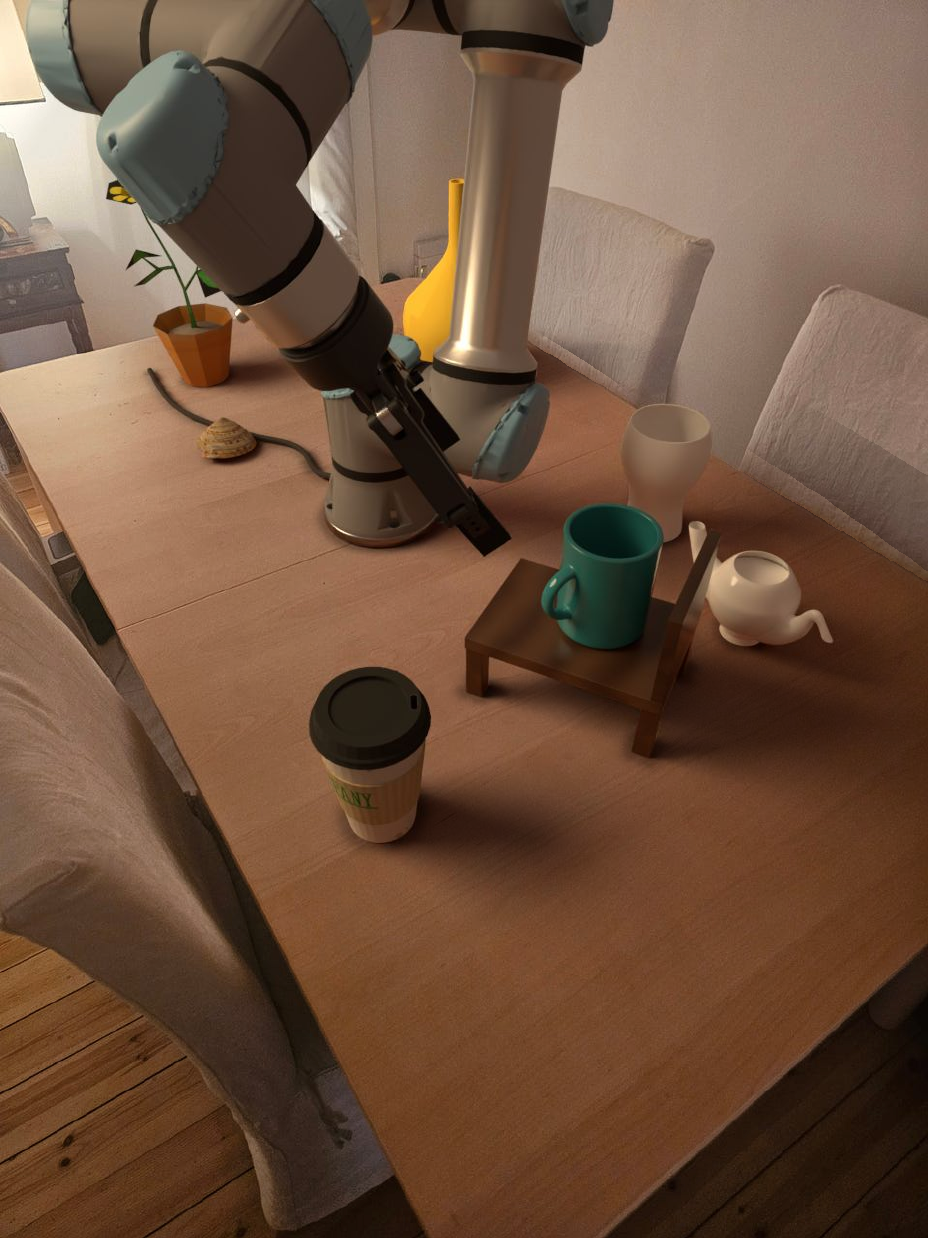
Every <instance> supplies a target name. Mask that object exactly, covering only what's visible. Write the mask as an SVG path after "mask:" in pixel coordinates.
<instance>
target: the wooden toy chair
mask: <svg viewBox="0 0 928 1238" xmlns="http://www.w3.org/2000/svg"><path fill="white" fill-rule="evenodd" d="M722 535H723V532H722V531H719V530H716V529H712V528H709V529H708V532H707V536H706V538H705V540H704V542H703V545H702V547H701V549H700V551H699V553H698V556H697V558H696V560H695V562H693V564H692V566H691V569H690V570H689V573H688V576H687V578H686V580H685V582H684V584H683V585H682V588H681V591H680V593H679V595H678V597H677V600H676V602H675V603H674V602H672V601H671V602H670V601H667V600H664V599H662V598H661V599H660V598H658V597H654V596H652V600H651V605H650V610H649V615H648V620H647V625H646V628H645V630H644V632H643V633H642V635H641V636H640V637H639V638H638V639H637V640H636V641H634V642H633V643H631V644H629V645H627V646H624V647H621V648H616V649H595V648H590V647H587V646H584V645H581V644H579V643H577V642H575V641H573V640H572V639H571V638H569V637H568V636H567V635H566V634H565V633H564V632H563V631H562V630H561V628H560V627H559V625H558V622H557V620H555V619H552V618H550V617H549V616H548V615H546V613H545V612H544V611H543V608H542V605H541V598H542V594H543V591H544V589H545V587H546V585H547V583H548V582H549V580H550V579H551V578H552V577H553V576H554V575H555V574H556V573H557V572H558V571H560V568H556V567H552V566H549V565H546V564H543V563H539V562H536V561H532V560H530V559H526V558H522V557H521V558H519V560H518V561H517V563H516V564H515V566H514V567H513V568H512V570H511V571H510V573H509V575H508V576H507V577H506V578H505V580H504V581H503V583H502V584H501V585H500V587H499V588H498V590H496V592H495V594H494V595H493V597H492V598H491V600H490V601H489V602H488V604H487V606H486V607H484V609H483V611H482V613H480V615H479V616H478V618H477V619H476V620H475V622H474V624H473V625H472V626H471V627H470V629H469V630H468V632H467V633H466V634H465V636H464V649H465V692H466V693H467V694H470V695H474V696H476V697H479V698H482V697H483V695H484V694H485V692H486V690H487V689H488V688H489V682H490V681H489V679H490V676H489V675H490V673H489V672H490V658H492V659H494V660H498V661H501V662H504V663H506V664H509V665H513V666H516V667H518V668H522V669H524V670H528V671H529V672H533V673H535V674H538V675H542V676H544V677H546V678H547V677H548V678H550V679H553V680H556V681H559V682H562V683H565V684H568V685H570V686H574V687H575V688H579V689H582V690H585V691H587V692H590V693H593V694H595V695H598V696H603V697H605V698H608V699H611V700H614V701H616V702H620V703H622V704H626V705H629V706H631V707H635V708H637V709H639V714H638V717H637V718H638V719H637V723H636V728H635V732H634V737H633V742H632V746H631V752H630V753H633V754H635V755H638V756H642V757H643V758H647V759H650V757H651V755H652V753H653V750H654V747H655V744H656V740H657V737H658V731H659V729H660V728H659V727H660V724H661V719H662V716H663V713H664V707H665V705H666V704H667V701H668V698H669V696H670V694H671V691H672V688H673V686H674V683H675V682H676V679H677V676H678V677H681V678H682V677H684V674H685V672H686V669H687V666H688V662H689V658H690V655H691V651H692V647H693V643H694V639H695V636H696V631H697V628H698V626H699V623H700V621H701V616H702V612H703V608H704V605H705V601H706V594H707V590H708V586H709V582H710V578H711V574H712V570H713V567H714V563H715V559H716V556H717V554H718V552H719V547H720V543H721V539H722ZM556 603H557V595H556V597H555V599H554V608H556Z"/></svg>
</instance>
